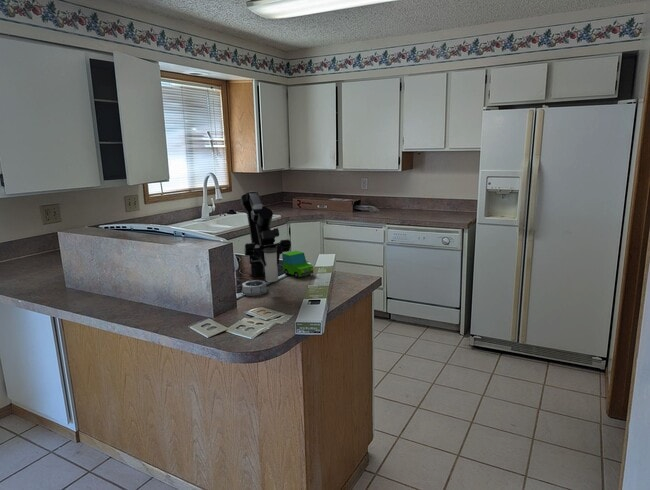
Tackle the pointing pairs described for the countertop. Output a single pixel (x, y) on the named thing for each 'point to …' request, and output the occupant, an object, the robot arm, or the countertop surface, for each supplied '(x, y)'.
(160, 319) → the countertop surface
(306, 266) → the toy car
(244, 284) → the grey octagonal ring
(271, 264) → the white cylinder
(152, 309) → the countertop surface
